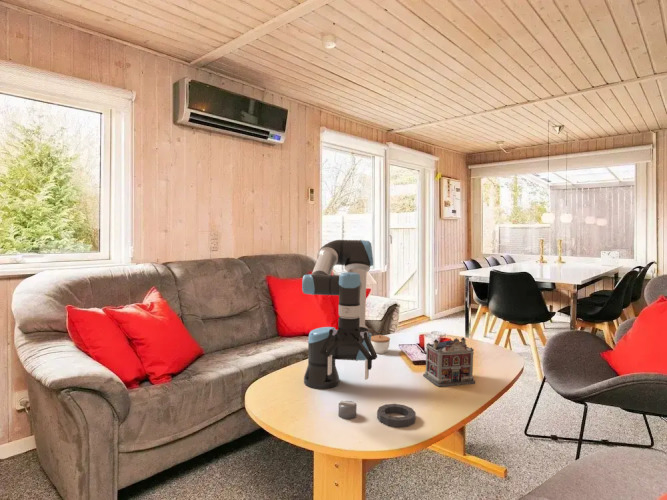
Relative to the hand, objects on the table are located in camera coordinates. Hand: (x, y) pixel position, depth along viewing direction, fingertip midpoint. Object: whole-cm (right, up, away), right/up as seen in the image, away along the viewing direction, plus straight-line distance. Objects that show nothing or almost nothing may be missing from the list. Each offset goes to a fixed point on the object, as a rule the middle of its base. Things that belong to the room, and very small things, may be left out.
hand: (348, 376), depth 152 cm
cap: (0, -14, +1) cm, 15 cm away
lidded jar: (+19, -10, +78) cm, 81 cm away
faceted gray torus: (+17, -15, -1) cm, 22 cm away
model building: (+46, -13, +38) cm, 61 cm away
